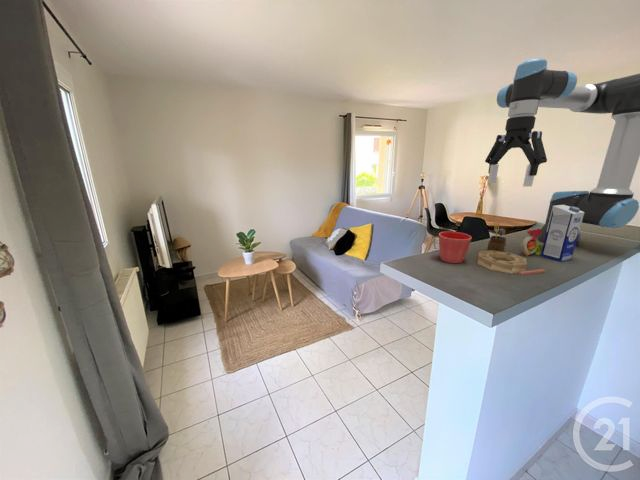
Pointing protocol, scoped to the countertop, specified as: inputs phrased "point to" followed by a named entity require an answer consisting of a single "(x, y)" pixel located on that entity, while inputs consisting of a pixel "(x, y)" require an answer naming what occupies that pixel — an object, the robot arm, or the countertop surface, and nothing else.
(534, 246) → the bird rattle
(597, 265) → the countertop surface
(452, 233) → the flower pot
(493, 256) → the octagonal ring
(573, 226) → the milk carton
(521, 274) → the pink stick
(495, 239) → the utensil holder
